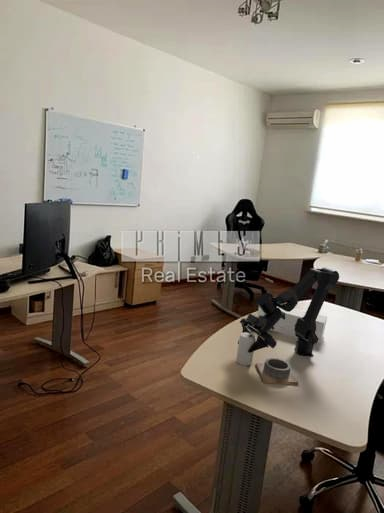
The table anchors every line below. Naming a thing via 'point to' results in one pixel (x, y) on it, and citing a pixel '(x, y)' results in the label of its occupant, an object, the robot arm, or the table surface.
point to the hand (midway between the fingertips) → (243, 347)
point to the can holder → (276, 371)
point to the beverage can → (245, 348)
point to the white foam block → (290, 321)
